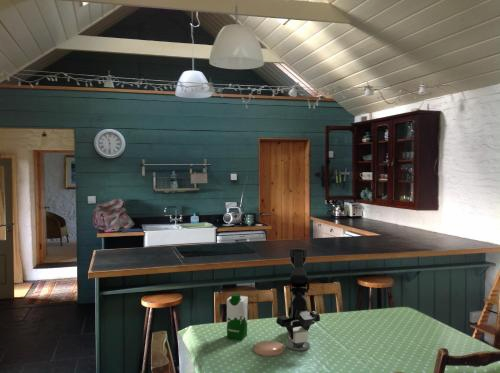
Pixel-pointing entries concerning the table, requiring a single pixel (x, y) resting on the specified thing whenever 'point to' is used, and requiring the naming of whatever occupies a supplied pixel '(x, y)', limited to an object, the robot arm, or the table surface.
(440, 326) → the table surface
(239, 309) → the milk carton
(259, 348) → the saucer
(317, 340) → the table surface
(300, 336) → the cream colored cube
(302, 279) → the robot arm
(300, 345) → the grey rounded piece
